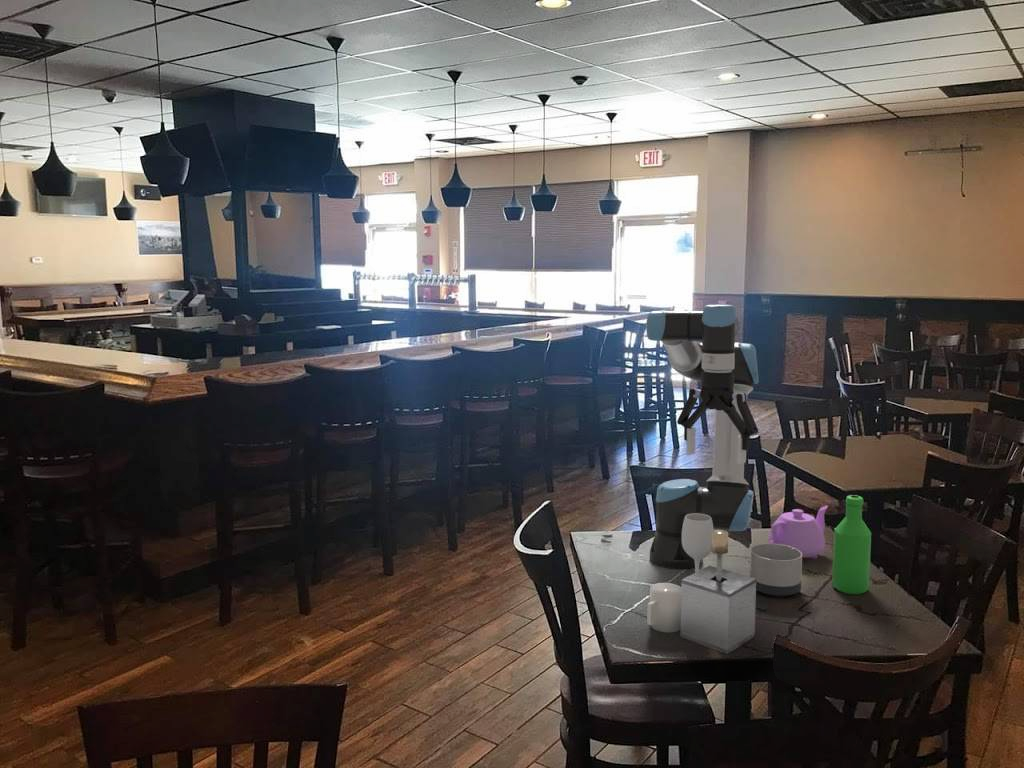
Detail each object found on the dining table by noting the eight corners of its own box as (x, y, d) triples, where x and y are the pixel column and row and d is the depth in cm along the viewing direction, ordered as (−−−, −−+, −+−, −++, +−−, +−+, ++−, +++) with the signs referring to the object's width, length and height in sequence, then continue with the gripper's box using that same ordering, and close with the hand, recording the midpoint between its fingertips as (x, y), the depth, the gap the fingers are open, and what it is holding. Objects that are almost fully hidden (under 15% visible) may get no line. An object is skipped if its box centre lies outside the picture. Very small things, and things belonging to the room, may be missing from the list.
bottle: (872, 596, 200) (877, 502, 197) (835, 594, 202) (840, 500, 198) (863, 583, 209) (868, 492, 205) (829, 581, 210) (833, 491, 207)
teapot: (806, 541, 242) (808, 498, 240) (846, 557, 228) (849, 511, 226) (751, 552, 233) (752, 507, 231) (789, 570, 219) (791, 522, 217)
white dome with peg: (635, 629, 183) (635, 593, 182) (661, 615, 191) (662, 580, 190) (662, 640, 178) (663, 602, 177) (688, 624, 186) (689, 588, 184)
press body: (680, 637, 179) (681, 579, 177) (708, 620, 188) (709, 565, 186) (727, 654, 171) (729, 594, 169) (754, 636, 179) (756, 578, 177)
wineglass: (715, 590, 205) (717, 513, 202) (712, 604, 197) (714, 523, 194) (681, 587, 208) (682, 510, 205) (677, 599, 200) (678, 520, 197)
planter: (808, 589, 206) (810, 550, 204) (788, 604, 196) (790, 564, 195) (762, 577, 214) (763, 540, 213) (740, 591, 205) (741, 552, 203)
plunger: (688, 630, 179) (690, 532, 176) (710, 617, 186) (712, 523, 182) (725, 643, 172) (728, 542, 169) (746, 629, 179) (749, 532, 176)
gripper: (663, 368, 190) (662, 453, 193) (759, 376, 173) (756, 470, 176) (680, 365, 195) (679, 448, 198) (775, 373, 178) (772, 464, 181)
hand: (715, 458), depth 187 cm, fingers open, 13 cm apart
